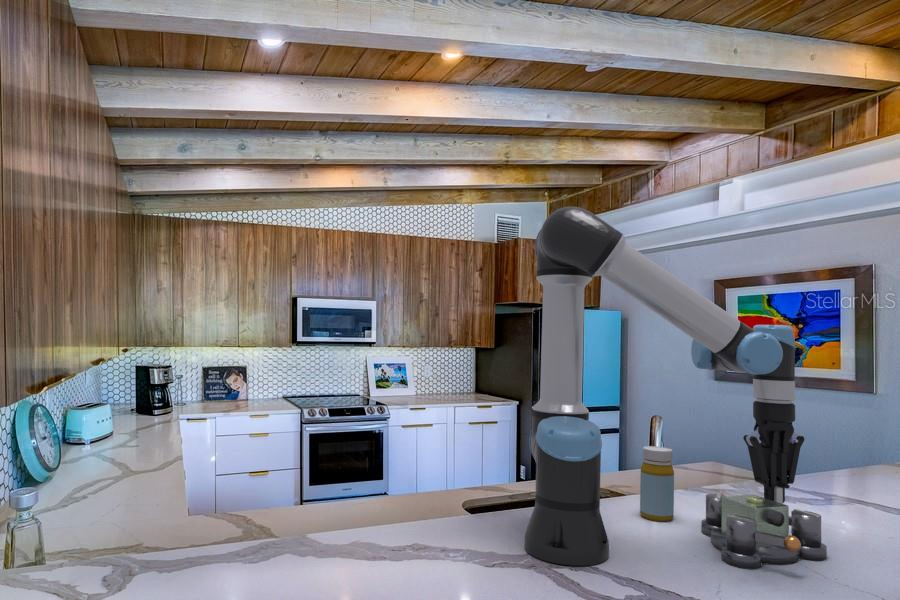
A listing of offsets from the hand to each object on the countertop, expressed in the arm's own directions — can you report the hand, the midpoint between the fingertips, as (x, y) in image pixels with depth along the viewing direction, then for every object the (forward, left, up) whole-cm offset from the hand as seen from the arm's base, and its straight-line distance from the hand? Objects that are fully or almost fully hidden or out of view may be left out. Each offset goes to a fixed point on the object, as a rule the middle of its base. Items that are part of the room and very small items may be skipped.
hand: (774, 519), depth 118 cm
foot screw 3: (-1, -4, -2) cm, 5 cm away
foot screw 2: (-15, -11, -2) cm, 18 cm away
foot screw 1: (-6, +8, -2) cm, 10 cm away
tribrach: (-9, -1, -4) cm, 10 cm away
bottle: (-14, +18, -4) cm, 23 cm away
